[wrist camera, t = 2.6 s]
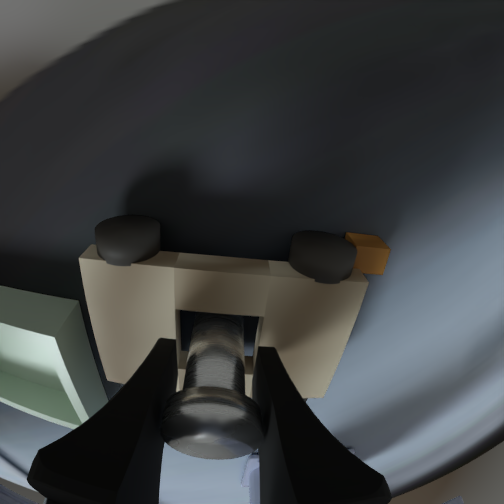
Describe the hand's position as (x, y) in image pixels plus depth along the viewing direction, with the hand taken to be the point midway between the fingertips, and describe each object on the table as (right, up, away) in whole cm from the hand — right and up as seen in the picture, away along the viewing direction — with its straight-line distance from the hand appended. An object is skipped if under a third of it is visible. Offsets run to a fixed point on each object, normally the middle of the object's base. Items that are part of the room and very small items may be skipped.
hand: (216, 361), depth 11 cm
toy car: (0, +1, +3) cm, 3 cm away
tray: (-14, -2, +4) cm, 14 cm away
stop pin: (0, +1, +3) cm, 3 cm away
